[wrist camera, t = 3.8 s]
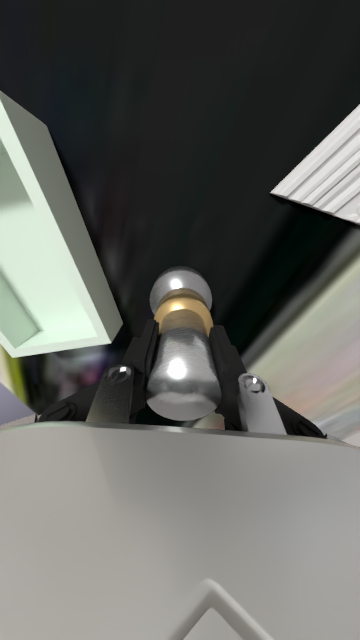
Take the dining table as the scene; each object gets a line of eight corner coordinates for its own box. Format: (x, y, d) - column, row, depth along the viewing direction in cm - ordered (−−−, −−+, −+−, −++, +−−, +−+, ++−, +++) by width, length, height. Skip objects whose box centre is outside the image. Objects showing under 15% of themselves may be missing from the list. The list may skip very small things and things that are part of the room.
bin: (123, 323, 21) (111, 343, 17) (40, 336, 22) (12, 357, 18) (46, 125, 13) (-7, 86, 9) (-81, 160, 14) (-173, 137, 10)
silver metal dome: (210, 313, 20) (214, 324, 18) (160, 321, 20) (157, 332, 18) (205, 260, 17) (208, 265, 15) (147, 271, 18) (142, 277, 15)
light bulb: (212, 290, 15) (248, 363, 7) (203, 335, 17) (222, 430, 9) (158, 285, 14) (130, 352, 7) (156, 331, 17) (133, 424, 9)
